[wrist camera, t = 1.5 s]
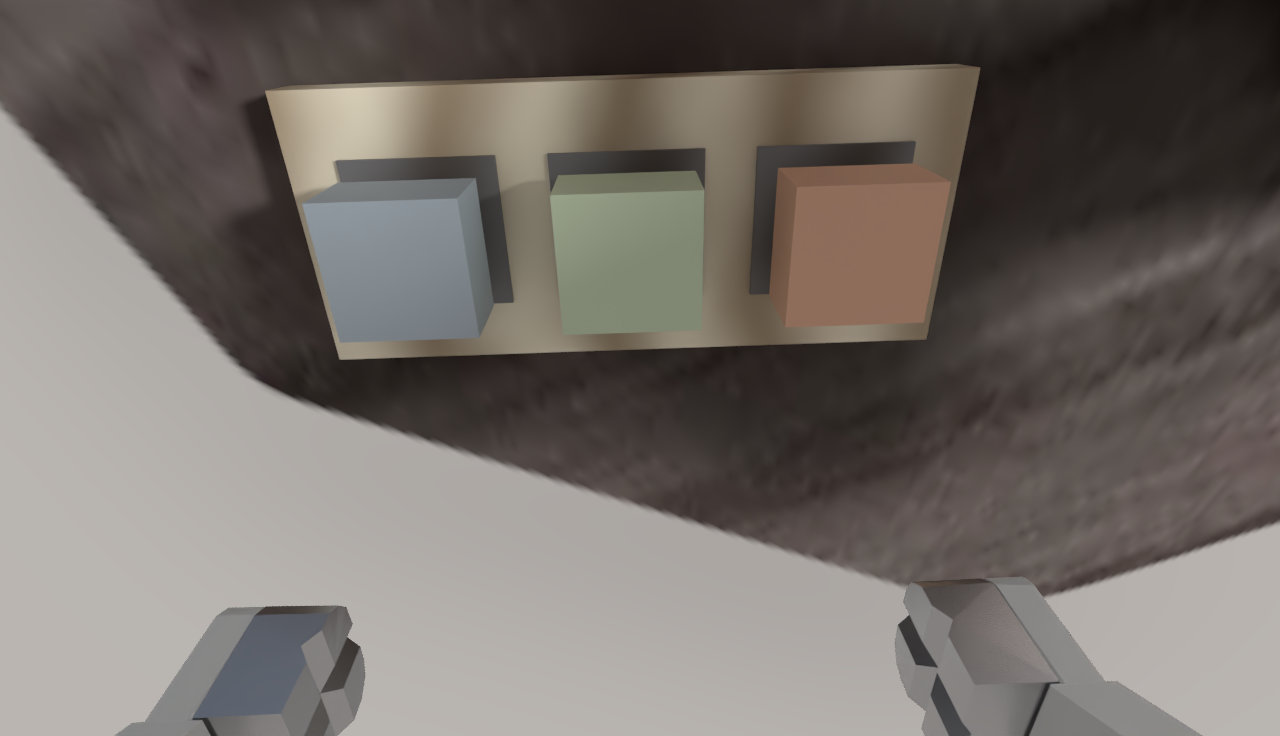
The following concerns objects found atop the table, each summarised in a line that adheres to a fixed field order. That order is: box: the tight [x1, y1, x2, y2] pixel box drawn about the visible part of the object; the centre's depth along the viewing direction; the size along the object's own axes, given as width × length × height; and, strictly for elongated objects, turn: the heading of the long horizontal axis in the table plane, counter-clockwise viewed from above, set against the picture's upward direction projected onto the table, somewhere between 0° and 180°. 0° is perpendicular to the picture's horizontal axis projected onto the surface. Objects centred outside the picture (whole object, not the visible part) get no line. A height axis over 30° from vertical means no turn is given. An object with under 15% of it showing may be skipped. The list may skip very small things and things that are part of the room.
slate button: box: [302, 178, 494, 343], centre depth 24 cm, size 5×5×3 cm
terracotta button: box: [769, 163, 951, 327], centre depth 24 cm, size 5×5×3 cm
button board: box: [265, 64, 980, 360], centre depth 27 cm, size 26×11×2 cm, turn 92°
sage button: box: [550, 171, 704, 335], centre depth 24 cm, size 5×5×3 cm
